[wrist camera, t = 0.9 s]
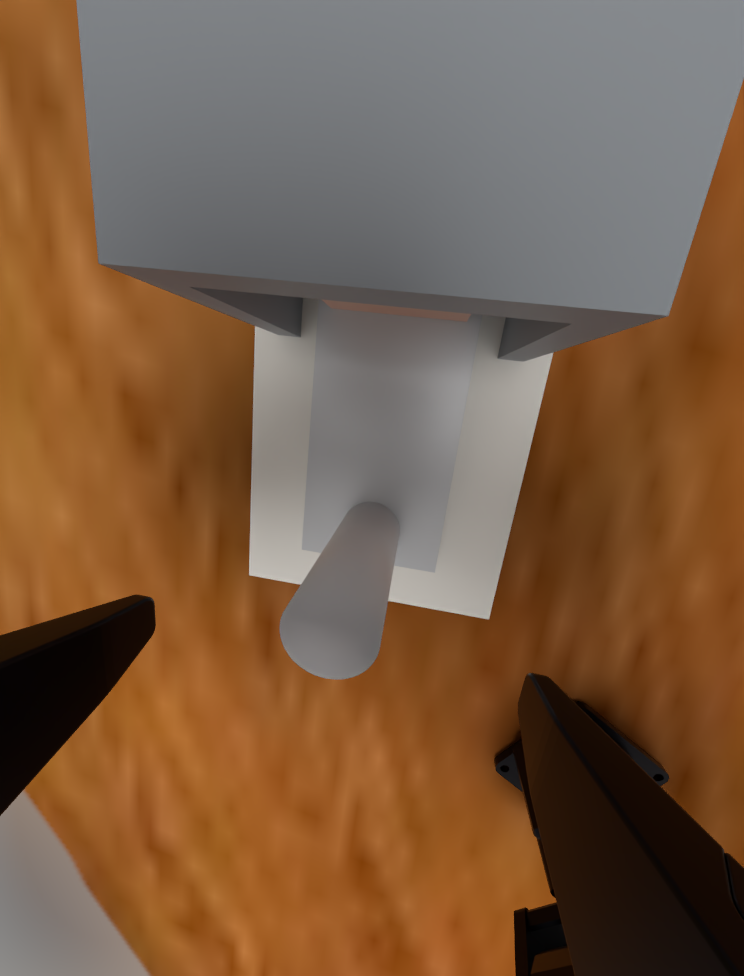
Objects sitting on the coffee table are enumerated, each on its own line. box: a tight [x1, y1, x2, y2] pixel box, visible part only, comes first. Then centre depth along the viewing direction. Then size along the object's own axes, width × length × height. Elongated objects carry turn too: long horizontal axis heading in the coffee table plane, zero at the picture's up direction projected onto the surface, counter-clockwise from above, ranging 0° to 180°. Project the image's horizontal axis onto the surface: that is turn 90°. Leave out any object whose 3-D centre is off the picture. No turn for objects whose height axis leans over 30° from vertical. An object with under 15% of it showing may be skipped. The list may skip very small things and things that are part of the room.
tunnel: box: [77, 0, 744, 362], centre depth 9 cm, size 7×10×8 cm
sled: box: [280, 299, 482, 679], centre depth 11 cm, size 16×6×8 cm, turn 174°
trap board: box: [249, 298, 553, 619], centre depth 15 cm, size 24×12×2 cm, turn 174°
